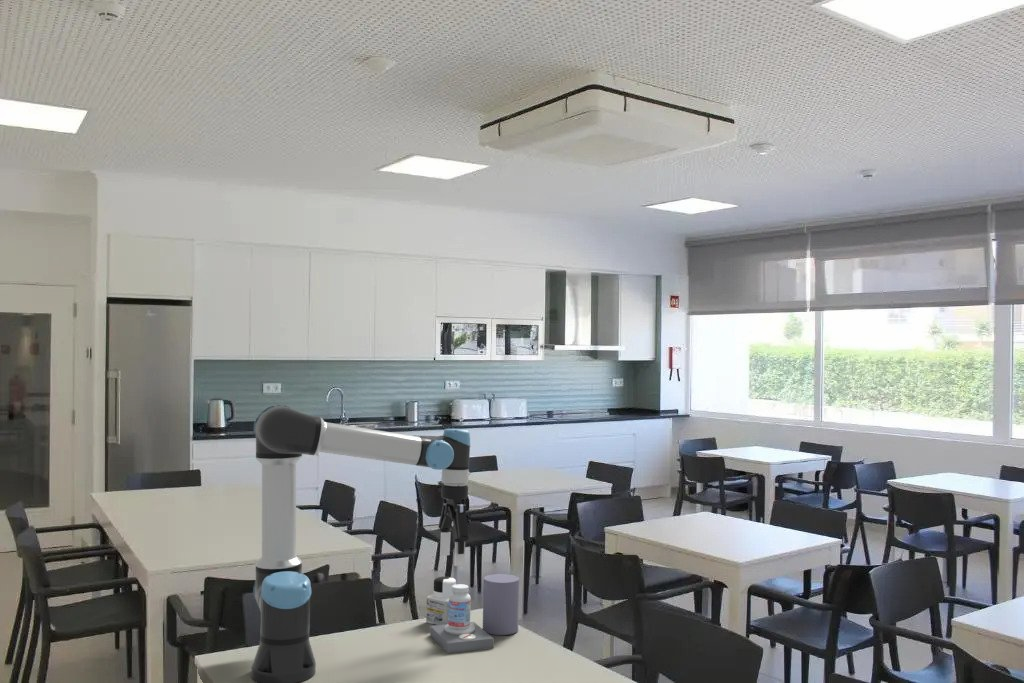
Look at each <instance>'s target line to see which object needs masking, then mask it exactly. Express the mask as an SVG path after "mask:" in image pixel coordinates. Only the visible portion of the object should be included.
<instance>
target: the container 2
mask: <svg viewBox="0 0 1024 683" xmlns="http://www.w3.org/2000/svg"><path fill="white" fill-rule="evenodd" d="M482 594H483V598H482V600H483V601H482V629H483V630H484V631H485V632H487V633H488V634H489V635H490V636H498V637H499V636H501V637H503V636H505V637H506V636H511V635H514V634H516V633H518V631H519V615H520V613H519V610H520V609H519V608H520V603H519V602H520V577H518V576H517V575H515V574H514V575H513V574H509V573H508V574H507V573H506V574H505V573H493V574H488V575H485V576H484V577H483V592H482Z"/></svg>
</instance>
